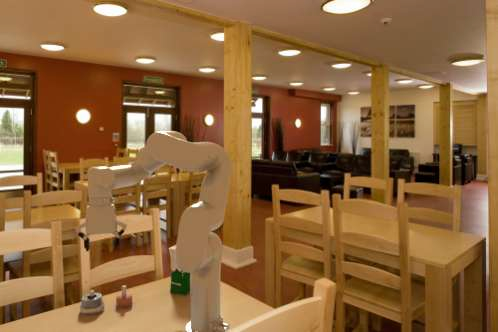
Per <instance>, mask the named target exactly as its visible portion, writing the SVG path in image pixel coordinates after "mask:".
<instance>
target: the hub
mask: <svg viewBox="0 0 498 332" xmlns="http://www.w3.org/2000/svg"><path fill="white" fill-rule="evenodd" d="M88 291H89V293H88V294H89V295H90V299H92V298H95V297H94V293H95V290H94V289H91V290H88ZM104 310H105V301H104V300H102V304H101V306H99V307H97V308H94V309H84V308H82V306H81V304H80V306H79V313H80V315H82V316H87V317H88V316H95V315H98V314H100V313H102V312H104Z"/></svg>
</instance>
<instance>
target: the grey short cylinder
mask: <svg viewBox="0 0 498 332" xmlns="http://www.w3.org/2000/svg"><path fill="white" fill-rule="evenodd" d="M94 297H95V298H92V299H90V295H89V293H86V294H84V295H82V297H81V300H80V302H81V303H80V305H81V306H82V308H84V309H94V308H97V307H99V306H101V304H102V301H103V294H102V293H99V292H94Z"/></svg>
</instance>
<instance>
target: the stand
mask: <svg viewBox="0 0 498 332" xmlns="http://www.w3.org/2000/svg"><path fill="white" fill-rule="evenodd" d="M115 302H116V303H115V307H116V308H117V309H127V308H130V307H132V305H133V294H131V293H127V285H122V286H121V294H119V295H117V296H116V297H115Z"/></svg>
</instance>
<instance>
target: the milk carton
mask: <svg viewBox="0 0 498 332" xmlns="http://www.w3.org/2000/svg"><path fill="white" fill-rule="evenodd" d="M175 250H176V244H175V245H172V246H171V247H169V248H168V252H169V256H170V278H171V279H170V287H169V288H170V289H169V292H170V293H171V294H172V293H173V294H177V295H180V296H186V295H188V294H190V273H187V272H184V271H183V270H181V269H180V268H179V266H178V265H177V262H176V258H175Z"/></svg>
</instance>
